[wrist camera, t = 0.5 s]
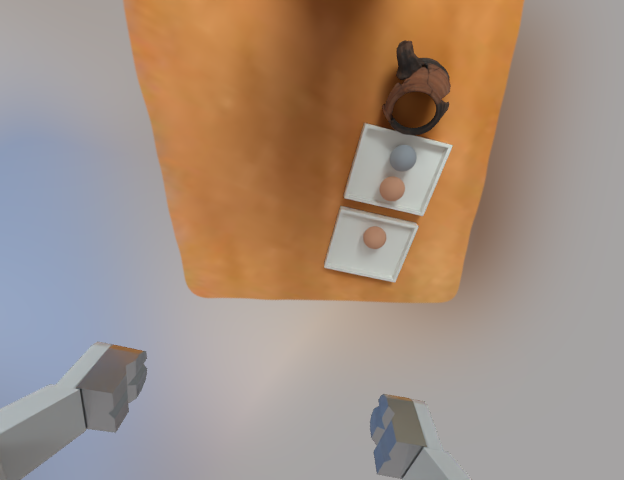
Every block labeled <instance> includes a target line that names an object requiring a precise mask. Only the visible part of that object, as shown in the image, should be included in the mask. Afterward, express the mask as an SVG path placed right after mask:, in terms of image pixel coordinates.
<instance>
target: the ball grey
mask: <svg viewBox="0 0 624 480" xmlns="http://www.w3.org/2000/svg"><path fill="white" fill-rule="evenodd" d="M416 159H417V156H416V152H415V150H414V149H413V148H412V147H410V146H408V145H400V146H398V147H396V148H395V149H394V150H393V151H392V152H391V155H390V164H391V166H392V167H393V168H394V169H395V170H397V171H401V172H404V171H408V170H409V169H411V168H412V167H413V166H414V164H415V163H416Z"/></svg>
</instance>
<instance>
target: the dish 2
mask: <svg viewBox="0 0 624 480" xmlns="http://www.w3.org/2000/svg"><path fill="white" fill-rule="evenodd" d="M373 226H377V227H380V228H382V229H383V230H384V231H385V233H386V242H385V244H384V245H383V246H382V247H381V248H378V249H371V248H369V247H367V246H366V245H365V243H364V240H363V235H364V232H365V231H366V230H367V229H368V228H370V227H373ZM418 227H419V226H418V225H417V224H416V223H415V222H411V221H406V220H402V219H398V218H393V217H389V216H384V215H380V214H375V213H371V212H367V211H362V210H358V209H353V208H349V207H345V206H340V209H339V212H338V216H337V219H336V223H335V226H334V230H333V233H332V237H331V240H330V244H329V247H328V251H327V254H326V258H325V261H324V268H328V269H333V270H338V271H342V272H347V273H352V274H357V275H362V276H366V277H371V278H376V279H381V280H385V281H390V282H396V279H397V277H398V274H399V272H400V270H401V267H402V265H403V263H404V260H405V258H406V255H407V253H408V251H409V248H410V246H411V244H412V241H413V239H414V236H415V234H416V232H417V229H418Z"/></svg>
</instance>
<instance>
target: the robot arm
mask: <svg viewBox="0 0 624 480" xmlns="http://www.w3.org/2000/svg"><path fill="white" fill-rule="evenodd" d="M146 359H147V355H146V351H141V350H136V349H132V348H127V347H122V346H118V345H113V344H107V343H102V342H97V343H95V344H93V345H92V346H91V347H90V348H89V349H88V350H87V351H86V352H85V353H84V355H82V356H81V358H80V359H79V360H78V361H77V362H76V363H75V364H74V365H73V366H72V367H71V368H70V369H69V371H68V372H67V373H66V374H65V375H64V376H63V377H62V378H61V379H60V380H59V381H58V383H57V384H56V385H52V384H50V385H47V386H46V387H44V388H41V389H39V390H37V391H35V392H33V393H31V394H29V395H27V396H25V397H24V398H21V399H19V400H17V401H15V402H14V403H11V404H9V405H7V406H5V407H3V408H1V409H0V480H21V479H22V478H23V477H25V476H26V475H27V474H28V473H30V472H31V471H33V470H34V469H35V468H37V467H38V466H39V465H41V464H42V463H43V462H45V461H46V460H48V459H49V458H50V457H52V456H53V455H54V454H56V453H57V452H58V451H59V450H61V449H62V448H64V447H65V446H66V445H68V444H69V443H70V442H72V441H73V440H74V439H76V438H77V437H78V436H80V435H81V434H82V433H84V432H85V431H86V429H92V430H100V431H108V432H116V431H117V430H118V428H119V426H120V425H121V423H122V422H123V420H124V418H125V417H126V415H127V413H128V412H129V408H128V403H130V402H132V401H133V400H134V399H136V398H137V397H138V395H139V393H140V392H141V390H142V387H143V385H144V383H145V380H146V375H147V368H146V367H145V365H144V362H145V361H146ZM370 431H371V438H372V439H373V441H374V442H375V444H376V445H377V447H376V448H375V450H374V458H375V464H376V471H377V474H379V475H384V476H389V477H395V478H400V479H402V480H472V479H471V478H470V477H469V475H468V474H467V473H466V472H465V471H464V470H463V469H462V467H461V466H460V465H459V464H458V463H457V461H456V460H455V459H454V458H453V457H452V456H451V455H450V453H449V452H448V451H444V450H443V448H442V445H441V442H440V439H439V437H438V434H437V431H436V428H435V425H434V422H433V420H432V417H431V414H430V411H429V408H428V406H427V404H426V403H425V401H420V400H414V399H409V398H405V397H399V396H392V395H387V394H383V395H381V396H380V398H379V406H378V407H376V408H375V409H374V410H373V412H372V415H371V421H370Z"/></svg>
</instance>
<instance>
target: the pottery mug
mask: <svg viewBox="0 0 624 480" xmlns="http://www.w3.org/2000/svg"><path fill="white" fill-rule="evenodd" d="M397 60H398V66H399V67H398V71H397V74H396V76H397V77H398V78H399V79H400V80H404V79H405V81H404V82H403V84H402V85H401V84H400V83H397V84H396V85H395V86H394V88H393V89H392V91H391V92H390V94H389V96H388V99H387V101H386V104H385V105H383V106H382V109H383V112H384V115H385V117H386V119H387V120H388V122H389V123H390V125H391V127H393V128H394V129H395V130H396V131H398V132H399V133H402V134H405V135H420V134H423V133H426V132H428V131H429V130H431V129H432V128H433V127H434V126H435V125H436V124H437V123H438V122H439V120H440V118H441V117H442V116H443V115H444V113H445V112H446V111H447V110H448V107H449V102H447V103H446V102H444V101H442V100H441V99H442V98H443V97H445V96H446V95H447V94H448V93H449V92H450V82H449V75H448V73H447V71H446V69H445V68H444V67H443V66H441V65H440V64H439V63H438V62H437V61H435V60H433V59H430V58H418V57H417V56H416V55H415V54H414V51H413V45H412V42H411V41H402V42H401V43H400V44H399V46H398V48H397ZM422 66H425V67H426V68H425V67H422ZM409 92H423V93H426V94H428V95H429V96H430V97H432V99H433V100H434V102H435V104H436V113H435V116H434V118H433V119H432V120H431V121H430V122H429V123H428V124H426V125H424V126H422V127H418V128H408V127H404V126H402V125H400V124H399V123H398V122H397V121H396V120H395V119H394V118H393V116H392V112H393V107H394V104H395V103H396V101H397V100H398V99H399V98H400V97H401V96H403V95H404V94H405V93H409Z"/></svg>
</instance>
